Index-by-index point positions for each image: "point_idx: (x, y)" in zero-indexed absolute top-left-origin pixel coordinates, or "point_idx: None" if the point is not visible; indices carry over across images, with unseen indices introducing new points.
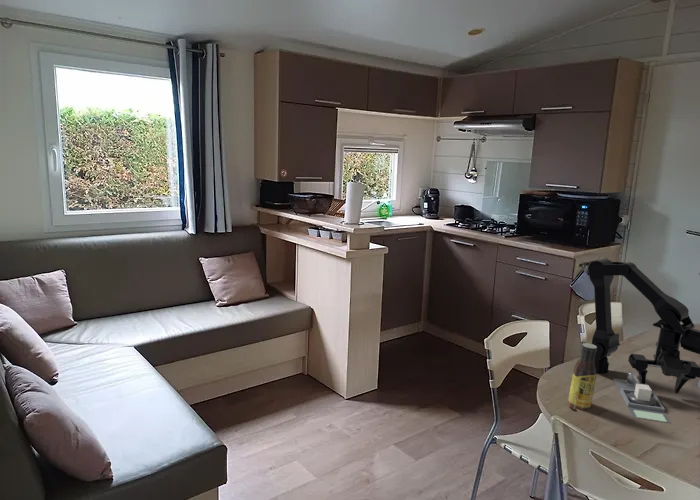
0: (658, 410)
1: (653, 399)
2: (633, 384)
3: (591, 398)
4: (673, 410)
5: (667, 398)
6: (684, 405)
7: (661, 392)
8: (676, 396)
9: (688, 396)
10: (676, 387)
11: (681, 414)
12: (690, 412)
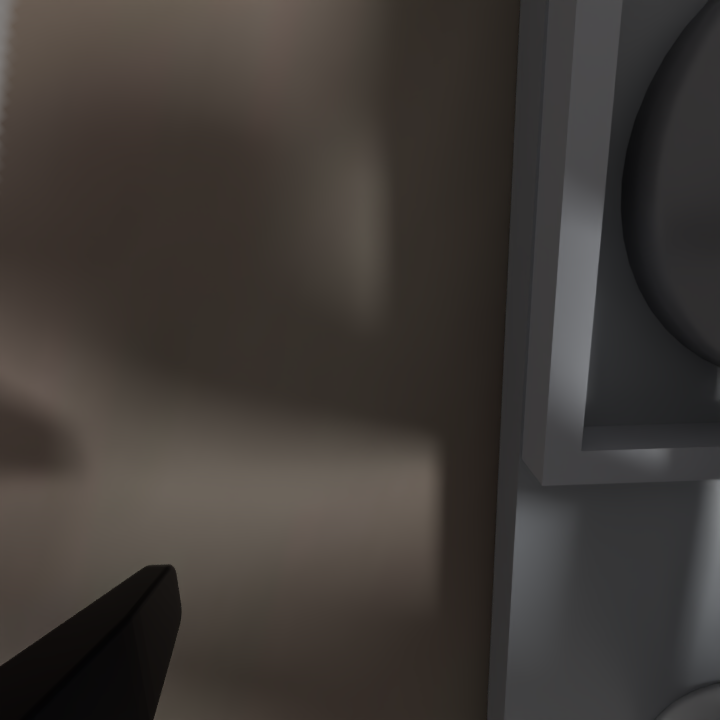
0: None
1: (695, 162)
2: (714, 717)
3: None
4: (296, 174)
5: (289, 543)
6: (97, 413)
7: (324, 679)
8: None
9: None
10: (124, 685)
11: (200, 65)
12: (45, 203)
